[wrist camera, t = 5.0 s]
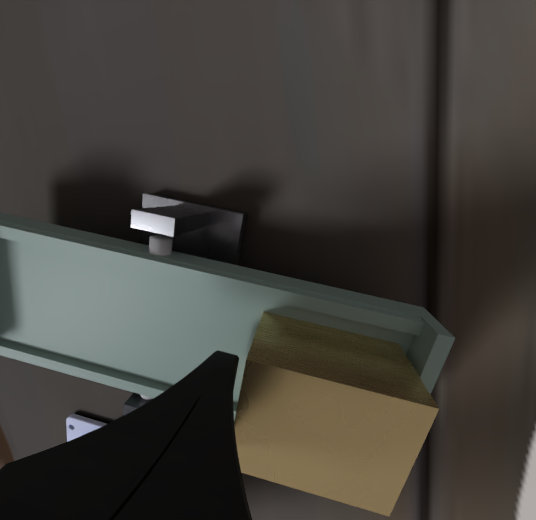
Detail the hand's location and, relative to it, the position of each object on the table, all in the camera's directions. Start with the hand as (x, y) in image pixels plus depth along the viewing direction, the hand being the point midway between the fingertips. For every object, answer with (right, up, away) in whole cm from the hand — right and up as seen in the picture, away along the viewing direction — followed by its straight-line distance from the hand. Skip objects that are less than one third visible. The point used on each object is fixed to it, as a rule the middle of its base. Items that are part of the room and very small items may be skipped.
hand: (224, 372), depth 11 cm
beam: (-4, +2, +2) cm, 5 cm away
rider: (+4, 0, +1) cm, 4 cm away
